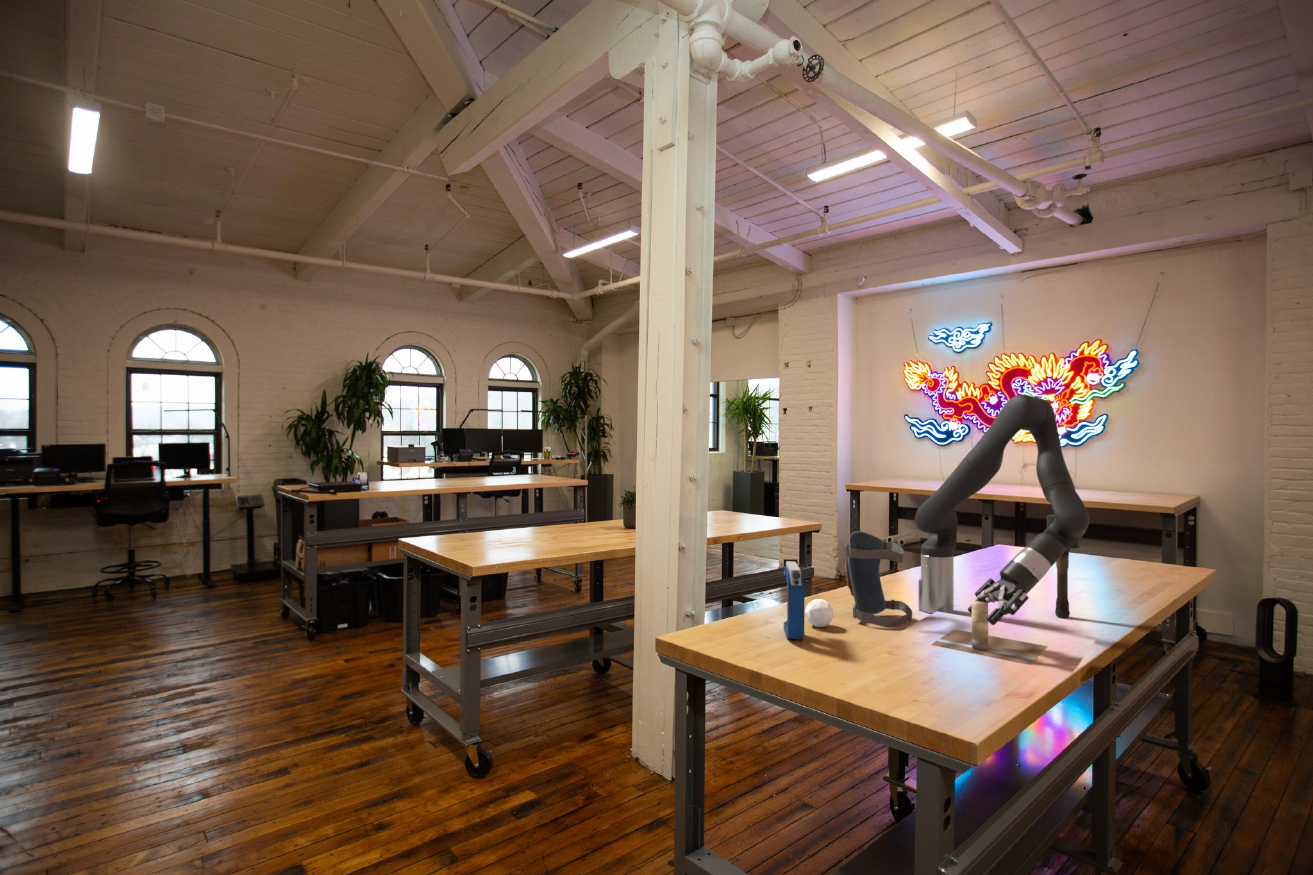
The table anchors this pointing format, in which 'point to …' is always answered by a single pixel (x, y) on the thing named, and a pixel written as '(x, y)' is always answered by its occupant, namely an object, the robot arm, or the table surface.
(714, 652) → the table surface
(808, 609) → the ball
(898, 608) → the knee pad
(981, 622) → the tan round-topped cylinder
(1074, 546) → the potato masher grenade
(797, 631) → the handheld scanner
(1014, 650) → the board
